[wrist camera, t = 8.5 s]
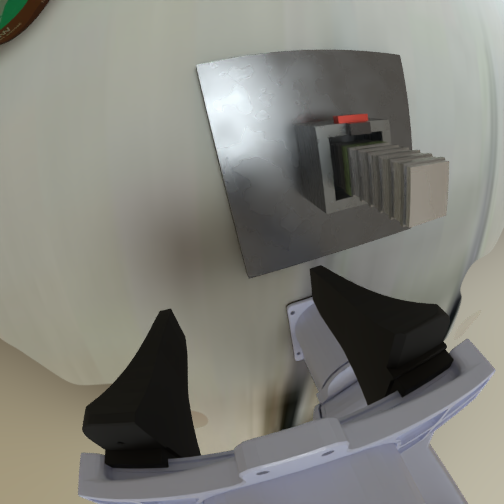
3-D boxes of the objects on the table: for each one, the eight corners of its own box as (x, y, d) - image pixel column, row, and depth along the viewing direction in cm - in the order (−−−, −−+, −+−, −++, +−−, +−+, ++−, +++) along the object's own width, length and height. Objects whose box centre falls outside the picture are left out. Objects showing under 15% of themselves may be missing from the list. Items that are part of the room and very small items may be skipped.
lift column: (369, 178, 19) (447, 216, 12) (333, 186, 19) (407, 230, 12) (365, 137, 17) (450, 159, 10) (328, 142, 17) (408, 165, 10)
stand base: (405, 224, 26) (439, 247, 21) (246, 272, 25) (260, 311, 20) (393, 56, 18) (434, 50, 13) (196, 67, 16) (196, 48, 11)
